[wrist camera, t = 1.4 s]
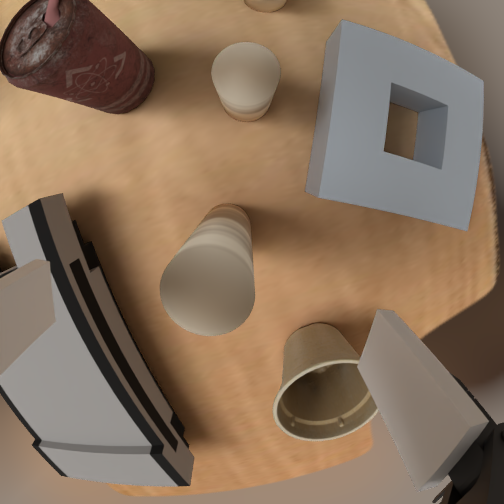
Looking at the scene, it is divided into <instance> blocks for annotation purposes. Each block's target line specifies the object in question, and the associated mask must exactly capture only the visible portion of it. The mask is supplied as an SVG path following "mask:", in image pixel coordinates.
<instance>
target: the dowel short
mask: <svg viewBox="0 0 504 504" xmlns="http://www.w3.org/2000/svg"><path fill="white" fill-rule="evenodd" d="M286 1H287V0H244V2H245V4H246V5H247V6H248V7H250V8H251V9H253V10H256V11H259V12H273V11H276V10H279V9H280V8H282V7H283V6H284V5H285V3H286Z"/></svg>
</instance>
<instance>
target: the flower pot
mask: <svg viewBox="0 0 504 504" xmlns="http://www.w3.org/2000/svg"><path fill="white" fill-rule="evenodd" d="M360 358H361V357H360V356H359V355H358V354H357V352H356V351H355V350H354V349H353V348H352V346H351V345H350V344H349V343H348V342H347V340H346V339H345V338H344V337H343V336H342V334H341V333H340V332H339V331H338V330H337V329H336V328H334V327H333V326H331V325H328V324H322V323H315V324H312V325H309V326H306V327H304V328H301V329H298V330H296V331H295V332H294V333H293V334H292V335H291V336H290V337H289V339H288V340H287V342H286V344H285V347H284V360H283V374H282V384H281V387H280V389H279V391H278V393H277V395H276V397H275V400H274V403H273V417H274V420H275V422H276V424H277V426H278V427H279V428H280V429H281V430H282V431H283V432H285V433H286V434H288V435H289V436H292V437H294V438H296V439H300V440H306V441H324V440H332V439H336V438H340V437H342V436H345V435H348V434H350V433H352V432H354V431H356V430H357V429H360V428H361V427H362V426H364V425H365V424H366V423H367V422H369V421H370V420H371V419H372V418H373V417H374V416H375V415H376V414H377V412H378V411H379V410H378V408H377V406H376V404H375V401H374V399H373V397H372V395H371V393H370V391H369V389H368V387H367V385H366V383H365V381H364V379H363V378H362V376H361V374H360V372H359V370H358V368H357V366H358V363H359V361H360Z"/></svg>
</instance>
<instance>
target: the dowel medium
mask: <svg viewBox="0 0 504 504" xmlns="http://www.w3.org/2000/svg"><path fill="white" fill-rule="evenodd" d="M211 76H212V80H213V83H214V86H215V88H216V90H217V93H218V95H219V98H220V100H221V102H222V105H223V107H224V109H225V111H226V113H227V114H228V115H229V116H230V117H232V118H233V119H235V120H238V121H242V122H251V121H255V120H257V119H259V118H261V117H262V116H263V115H264V114H265V113H266V112H267V110H268V109H269V106H270V104H271V101H272V98H273V96H274V93H275V91H276V88H277V85H278V83H279V80H280V76H281V68H280V64H279V61H278V59H277V58H276V56H275V55H274V54H273V53H272V52H271V51H270V50H269V49H268V48H266V47H264V46H262V45H260V44H257V43H252V42H240V43H236V44H233V45H230V46H228V47H226V48H225V49H223V50H222V51H221V52H220V53H219V54H218V55H217V57H216V58H215V60H214V62H213V65H212V70H211Z"/></svg>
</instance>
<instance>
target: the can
mask: <svg viewBox="0 0 504 504" xmlns="http://www.w3.org/2000/svg"><path fill="white" fill-rule="evenodd" d="M0 70H1V72H2V74H3V75H4V76H6V78H7V80H8V81H9V83H11V84H13V85H14V86H16V87H18V88H22V89H26V90H30V91H34V92H38V93H42V94H46V95H50V96H53V97H57V98H60V99H64V100H68V101H71V102H74V103H78V104H81V105H84V106H88V107H91V108H94V109H97V110H100V111H104V112H107V113H113V114H120V113H125V112H128V111H130V110H132V109H134V108H136V107H137V106H138V105H139V104H141V103H142V102H143V101H144V100H145V99H146V97H147V96H148V94H149V93H150V91H151V89H152V86H153V83H154V72H155V70H154V67H153V64H152V62H151V60H150V59H149V58H148V57H147V56H146V55H145V54H144V53H143V52H142V51H141V50H140V49H139V48H138V47H137V46H136V45H135V44H134V43H133V42H132V41H131V40H130V39H129V38H128V37H127V36H126V35H125V34H124V33H123V32H122V31H121V30H120V29H119V28H118V27H117V26H116V25H115V24H114V23H113V22H111V21H110V20H109V19H108V18H107V17H106V16H105V15H104V14H103V13H102V12H101V11H100V10H99V9H98V8H97V7H96V6H94V5H93V4H92V3H91V2H90V1H89V0H30V1H29V2H28V3H26V4H25V5H24V6H23V7H22V8H21V9H20V10H19V11H18V12H17V14H16V15H15V16H14V17H13V19H12V20H11V22H10V23H9V25H8V27H7V28H6V30H5V32H4V34H3V37H2V39H1V42H0Z"/></svg>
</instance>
